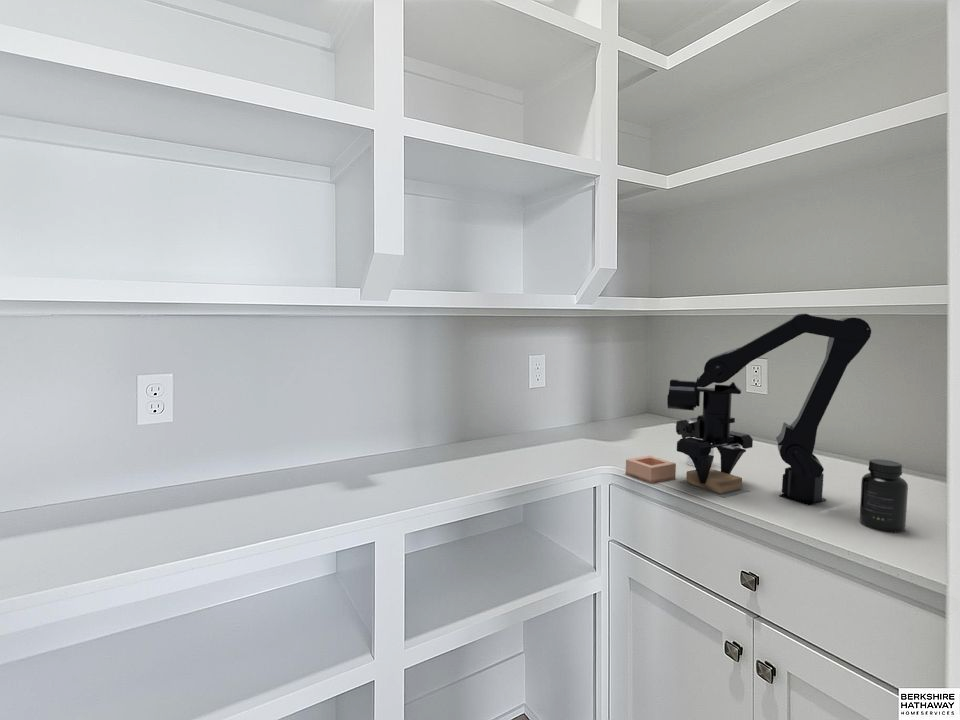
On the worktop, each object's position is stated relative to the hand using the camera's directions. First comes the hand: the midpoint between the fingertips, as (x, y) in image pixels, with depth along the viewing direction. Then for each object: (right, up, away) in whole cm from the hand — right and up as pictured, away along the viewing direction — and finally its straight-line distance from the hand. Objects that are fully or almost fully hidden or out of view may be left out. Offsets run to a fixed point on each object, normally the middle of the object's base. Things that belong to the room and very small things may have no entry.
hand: (713, 480), depth 118 cm
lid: (0, -1, 0) cm, 1 cm away
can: (+5, 0, +19) cm, 19 cm away
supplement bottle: (+22, -4, -21) cm, 30 cm away
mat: (0, -2, 0) cm, 2 cm away
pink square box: (-12, -1, +7) cm, 14 cm away
